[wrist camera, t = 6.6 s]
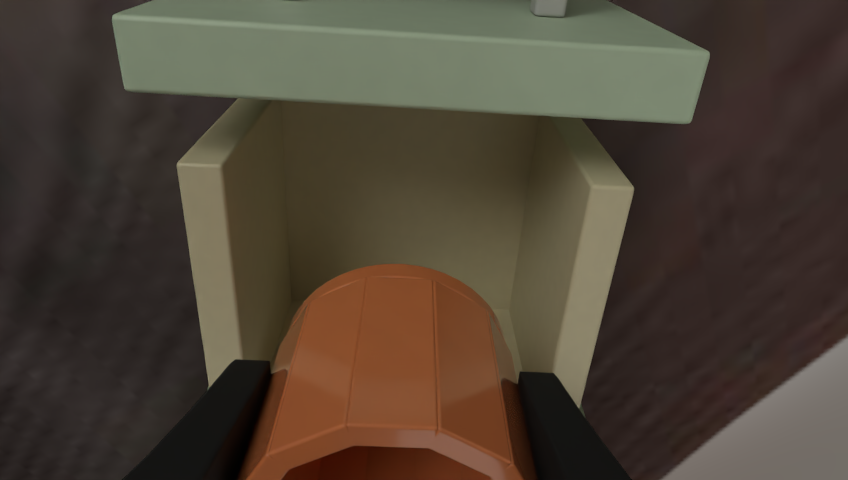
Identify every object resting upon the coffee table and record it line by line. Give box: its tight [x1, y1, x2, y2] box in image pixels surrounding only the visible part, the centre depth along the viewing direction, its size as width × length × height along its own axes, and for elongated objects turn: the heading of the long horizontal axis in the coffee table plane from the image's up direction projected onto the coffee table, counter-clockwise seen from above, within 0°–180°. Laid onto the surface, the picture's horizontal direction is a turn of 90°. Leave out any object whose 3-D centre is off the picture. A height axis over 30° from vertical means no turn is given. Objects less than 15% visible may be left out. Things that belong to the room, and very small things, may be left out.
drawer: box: [112, 0, 710, 408], centre depth 13 cm, size 14×9×6 cm
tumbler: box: [237, 264, 537, 480], centre depth 10 cm, size 4×4×4 cm
